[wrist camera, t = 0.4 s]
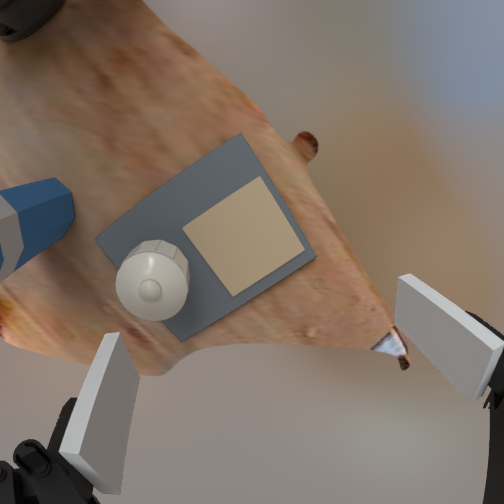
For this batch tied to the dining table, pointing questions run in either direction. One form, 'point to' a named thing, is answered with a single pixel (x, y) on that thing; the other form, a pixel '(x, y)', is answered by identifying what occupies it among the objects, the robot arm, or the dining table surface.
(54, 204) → the water bottle
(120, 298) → the cap
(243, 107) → the dining table surface
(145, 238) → the board
